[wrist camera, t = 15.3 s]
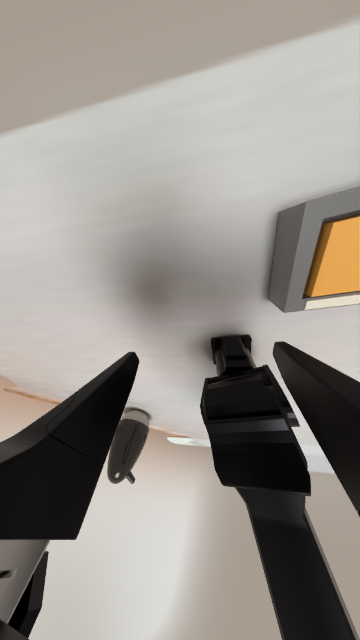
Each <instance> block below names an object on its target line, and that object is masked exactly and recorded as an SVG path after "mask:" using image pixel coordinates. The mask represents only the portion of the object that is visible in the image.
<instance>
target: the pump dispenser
mask: <svg viewBox="0 0 360 640" xmlns="http://www.w3.org/2000/svg"><path fill="white" fill-rule="evenodd" d="M148 433H149V419H148V417H147V415H146V414H145V413H144V412H142V411H139V410H132V411H129V412H127V413H126V414H125V415H124V416H123V418H122V419H121V420H120V422H119V424H118V427H117V430H116V433H115V435H114V438H113V441H112V444H111V448H110V453H109V460H108V468H107V475H108V478H109V480H110V482H111V483H113V484H117V483H120V482H121V481H123V480H124V478H125V477H126V478H127V479H128V480H129V481H130V483H132V484H133V483H134V482H135V478H134V476H133V475H132V473H131V469H132V468H133V466H134V464H135V463H136V461H137V459H138V457H139V455H140V453H141V451H142V449H143V447H144V444H145V442H146V439H147V436H148Z"/></svg>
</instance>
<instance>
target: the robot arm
mask: <svg viewBox="0 0 360 640" xmlns="http://www.w3.org/2000/svg"><path fill="white" fill-rule="evenodd" d="M247 338H248V339H247ZM251 341H252V338H251V336H249V335H245V336H233V337H221V338H212V339H211V345H212V353H213V360H214V364H215V365H216V367H217V375H218V376H217V377H212V378H205V382H204V387H203V392H202V398H201V403H200V408H201V414H202V418H203V421H204V424H205V426H206V429H207V432H208V435H209V439H210V443H211V448H212V454H213V460H214V467H215V471H216V473H217V475H218V477H219V479H220V481H221V483H222V484H223V486H229V487H235V488H236V490H237V491H238V493H239V494H240V496H241V497H242V499H243V500H244V502H245V503H246V506H247V509H248V513H249V517H250V520H251V524H252V528H253V532H254V535H255V539H256V543H257V547H258V550H259V554H260V558H261V562H262V565H263V569H264V573H265V577H266V580H267V584H268V588H269V592H270V595H271V599H272V603H273V606H274V610H275V614H276V618H277V621H278V625H279V629H280V633H281V637H282V640H360V639H359V637H358V635H357V632H356V630H355V627H354V625H353V622H352V620H351V618H350V615H349V613H348V610H347V608H346V605H345V603H344V601H343V598H342V596H341V593H340V591H339V588H338V586H337V583H336V581H335V579H334V576H333V574H332V571H331V569H330V566H329V564H328V562H327V559H326V557H325V554H324V552H323V549H322V547H321V545H320V542H319V540H318V537H317V535H316V532H315V530H314V528H313V525H312V523H311V520H310V518H309V516H308V513H307V510H306V508H305V496H311V482H310V475H309V472H308V470H307V467H308V466H307V461H306V458H305V456H304V454H303V452H302V450H301V447H300V445H299V443H298V441H297V439H296V437H295V435H294V432H293V430H292V428H291V427H300V425H299V422H298V420H297V418H296V416H295V414H294V412H293V409H292V407H291V405H290V403H289V402H288V400H287V398H286V396H285V394H284V392H283V390H282V389H281V387H280V385H279V383H278V382H277V380H276V378H275V377H274V375H273V373H272V372H271V370H270V368H269V367H268V365H263V366H262V367H258V368H256V366H255V363H254V361H253V359H252V356H251ZM273 357H274V359H275V361H276V364H277V366H278V368H279V371H280V373H281V376H282V378H283V380H284V382H285V384H286V386H287V388H288V390H289V392H290V393H291V395H292V397H293V399H294V400H295V402H296V404H297V406H298V408H299V409H300V411H301V413H302V415H303V416H304V418H305V420H306V422H307V424H308V425H309V427H310V429H311V431H312V432H313V434H314V436H315V438H316V440H317V441H318V443H319V445H320V447H321V448H322V450H323V452H324V454H325V456H326V457H327V459H328V461H329V463H330V464H331V466H332V468H333V470H334V472H335V473H336V475H337V477H338V479H339V480H340V482H341V484H342V486H343V488H344V489H345V491H346V493H347V495H348V496H349V498H350V500H351V502H352V504H353V505H354V507H355V509H356V510H357V511H358V514H359V516H360V382H358V381H357V380H355V379H353V378H351V377H349V376H347V375H345V374H344V373H342V372H340V371H338V370H336V369H334V368H332V367H331V366H329V365H327V364H325V363H323V362H321V361H319V360H318V359H316V358H314V357H312V356H310V355H308V354H306V353H304V352H303V351H301V350H299V349H297V348H295V347H293V346H291V345H290V344H288V343H286V342H275V344H274V348H273ZM138 365H139V359H138V357H137V355H136V353H135V352H128V353H127V354H126V355H124V356H123V357H122V358H120V359H119V360H118V361H116V362H115V363H114V364H112V365H111V366H110V367H108V368H107V369H106V370H104V371H103V372H102V373H100V374H99V375H98V376H96V377H95V378H94V379H92V380H91V381H90V382H89V383H87V384H86V385H85V386H83V387H82V388H81V389H79V390H78V391H77V392H75V393H74V394H73V395H71V396H70V397H69V398H67V399H66V400H65V401H63V402H62V403H60V404H59V405H58V406H56V407H55V408H53V409H52V410H51V411H49V412H48V413H46V414H45V415H43V416H42V417H41V418H39V419H38V420H36V421H35V422H33V423H32V424H30V425H29V426H28V427H26V428H25V429H23V430H22V431H20V432H19V433H17V434H16V435H14V436H12V437H10V438H8V439H6V440H5V441H2V442H0V640H29V639H28V637H29V635H30V633H31V630H32V628H33V626H34V623H35V621H36V619H37V617H38V614H39V612H40V610H41V607H42V600H43V591H44V584H45V576H46V568H47V560H48V553H49V552H48V551H45V550H46V548H47V545H48V544H49V542H50V540H75V539H76V538H77V536H78V534H79V531H80V528H81V525H82V523H83V520H84V517H85V515H86V512H87V509H88V507H89V504H90V501H91V498H92V496H93V493H94V490H95V487H96V484H97V482H98V479H99V476H100V474H101V471H102V468H103V464H104V463H105V460H106V457H107V454H108V452H109V449H110V446H111V444H112V441H113V438H114V435H115V433H116V430H117V427H118V424H119V422H120V419H121V416H122V413H123V411H124V408H125V405H126V403H127V400H128V397H129V394H130V392H131V389H132V386H133V383H134V380H135V376H136V372H137V369H138Z"/></svg>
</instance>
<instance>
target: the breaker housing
mask: <svg viewBox="0 0 360 640" xmlns="http://www.w3.org/2000/svg"><path fill="white" fill-rule="evenodd" d="M359 213H360V187H357V188H354V189H350V190H346V191H343V192H339V193H336V194H332V195H329V196H325V197H322V198H318V199H315V200H311V201H308V202H305V203H302V204H299V205H297V206H294V207H292V208H289V209H286V210H284V211H281V212H279V215H278V223H277V231H276V239H275V247H274V255H273V263H272V271H271V279H270V287H269V295H268V300H270V301H271V302H272V303H273V304H274V305H275V306H277V307H278V308H279V309H280V310H281V311H282V312H284V313H286V312H295V311H304V310H312V309H321V308H330V307H339V306H347V305H356V304H360V291H352V292H345V293H337V294H330V295H323V296H315V297H310V296H308V295H306V294H304V289H305V285H306V282H307V278H308V274H309V270H310V267H311V263H312V259H313V255H314V251H315V248H316V244H317V240H318V236H319V233H320V229H321V225H322V222H327V221H331V220H335V219H339V218H343V217H347V216H351V215H355V214H359Z"/></svg>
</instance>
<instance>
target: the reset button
mask: <svg viewBox="0 0 360 640" xmlns="http://www.w3.org/2000/svg"><path fill="white" fill-rule="evenodd" d="M352 291H360V213H359V214H355V215H351V216H347V217H343V218H339V219H335V220H331V221H327V222H322V225H321V229H320V233H319V236H318V240H317V244H316V248H315V251H314V255H313V259H312V263H311V267H310V270H309V274H308V278H307V282H306V285H305V289H304V294H306V295H308V296H310V297H315V296H323V295H330V294H337V293H345V292H352Z"/></svg>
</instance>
